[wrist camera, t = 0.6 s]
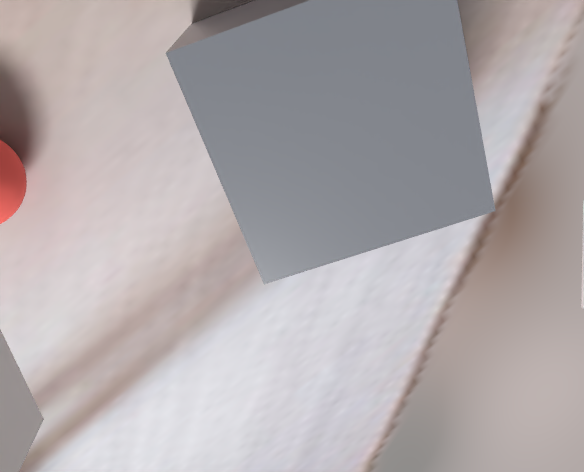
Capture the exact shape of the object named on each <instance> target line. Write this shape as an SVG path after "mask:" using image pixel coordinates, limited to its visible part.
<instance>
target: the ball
mask: <svg viewBox="0 0 584 472" xmlns="http://www.w3.org/2000/svg"><path fill="white" fill-rule="evenodd" d="M26 182H27V181H26V174H25V170H24V167H23V164H22V162H21V160H20V159H19V157H18V156H17V154H16V153H15V152H14V151H13V149H12V148H10V147H9V146H8V145H7V144H6V143H4V142H3V141H2V140H0V224H1V223H3V222H5V221H6V220H7V219H9V218H10V217H11V216H12V215H13V214H14V213H15V212H16V211H17V210H18V208H19V207H20V205H21V203H22V201H23V199H24V196H25V192H26Z"/></svg>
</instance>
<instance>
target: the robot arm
mask: <svg viewBox="0 0 584 472" xmlns="http://www.w3.org/2000/svg"><path fill="white" fill-rule="evenodd" d="M581 306H582V308H584V201H583V250H582V300H581ZM43 420H44V419H43V417H42V414H41V412H40V410H39V408H38V406H37V404H36V402H35V400H34V398H33V396H32V394H31V392H30V390H29V388H28V386H27V384H26V381H25V379H24V377H23V375H22V373H21V371H20V369H19V367H18V365H17V363H16V361H15V359H14V357H13V355H12V353H11V351H10V348H9V346H8V344H7V342H6V340H5V338H4V336H3V334H2V332H1V330H0V472H19V470H20V468H21V466H22V464H23V462H24V460H25V458H26V456H27V454H28V451H29V449H30V447H31V445H32V443H33V441H34V439H35V437H36V435H37V432H38V430H39V428H40V426H41V424H42V422H43Z"/></svg>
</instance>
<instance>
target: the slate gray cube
mask: <svg viewBox="0 0 584 472" xmlns="http://www.w3.org/2000/svg"><path fill="white" fill-rule="evenodd" d="M166 55H167V57H168V59H169V62H170V64H171V67H172V69H173V71H174V74H175V76H176V78H177V81H178V83H179V85H180V88H181V90H182V92H183V95H184V97H185V99H186V102H187V104H188V106H189V109H190V111H191V113H192V116H193V118H194V121H195V123H196V125H197V128H198V130H199V132H200V135H201V137H202V139H203V142H204V144H205V146H206V149H207V151H208V153H209V156H210V158H211V160H212V163H213V165H214V168H215V170H216V172H217V175H218V177H219V179H220V182H221V184H222V186H223V189H224V191H225V193H226V196H227V198H228V200H229V203H230V205H231V207H232V210H233V212H234V214H235V217H236V219H237V222H238V224H239V226H240V229H241V231H242V233H243V236H244V238H245V240H246V243H247V245H248V247H249V250H250V252H251V254H252V257H253V259H254V261H255V264H256V266H257V268H258V271H259V273H260V276H261V278H262V280H263V283H264V284H266V283H270V282H273V281H276V280H279V279H282V278H285V277H289V276H292V275H295V274H298V273H301V272H304V271H307V270H311V269H314V268H317V267H320V266H323V265H326V264H329V263H333V262H336V261H339V260H342V259H345V258H348V257H352V256H355V255H358V254H361V253H364V252H367V251H370V250H374V249H377V248H380V247H383V246H386V245H389V244H393V243H396V242H399V241H402V240H405V239H408V238H411V237H415V236H418V235H421V234H424V233H427V232H430V231H434V230H437V229H440V228H443V227H446V226H449V225H452V224H456V223H459V222H462V221H465V220H468V219H471V218H475V217H478V216H481V215H484V214H487V213H490V212H493V211H495V206H494V201H493V195H492V190H491V184H490V179H489V173H488V168H487V162H486V157H485V151H484V146H483V140H482V134H481V129H480V123H479V118H478V112H477V107H476V101H475V96H474V90H473V85H472V79H471V74H470V68H469V62H468V57H467V51H466V46H465V40H464V35H463V29H462V24H461V18H460V13H459V7H458V2H457V0H254V1H252V2H249V3H246V4H244V5H241V6H238V7H236V8H233V9H230V10H227V11H225V12H222V13H219V14H217V15H214V16H211V17H209V18H206V19H203V20H200V21H198V22H195V23H192V24H191V25H190V26H189V27H188V28H187V30H186V31H185V32H184V33H183V34H182V35H181V36H180V37H179V39H178V40H177V41H176V42H175V43H174V44H173V45H172V46H171V48H170V49H169V50H168V51H167V52H166Z"/></svg>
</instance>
